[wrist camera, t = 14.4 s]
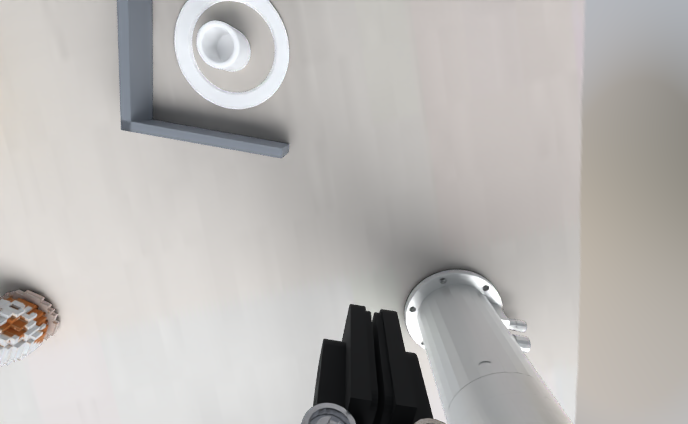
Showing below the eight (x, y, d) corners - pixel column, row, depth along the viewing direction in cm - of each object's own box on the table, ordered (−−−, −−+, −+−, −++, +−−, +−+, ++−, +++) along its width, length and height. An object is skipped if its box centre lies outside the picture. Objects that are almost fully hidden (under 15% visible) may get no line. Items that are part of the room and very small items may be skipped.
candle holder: (262, -36, 34) (250, -54, 30) (307, 86, 37) (301, 84, 33) (157, 11, 35) (131, 0, 31) (209, 124, 39) (192, 127, 35)
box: (310, -29, 33) (305, -45, 30) (288, 152, 39) (281, 158, 35) (141, -62, 33) (114, -83, 29) (143, 126, 38) (121, 129, 35)
